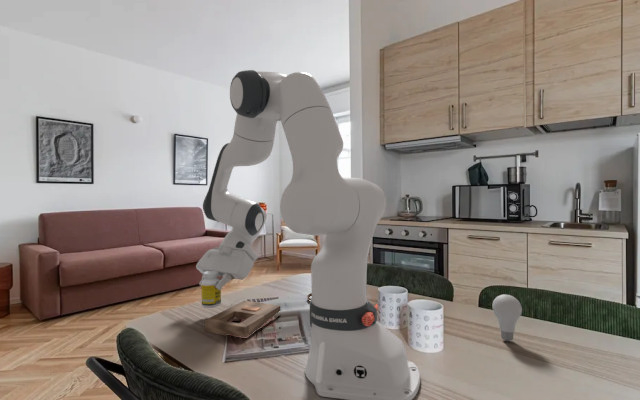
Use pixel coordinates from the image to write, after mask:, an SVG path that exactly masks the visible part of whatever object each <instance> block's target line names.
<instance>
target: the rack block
mask: <svg viewBox="0 0 640 400" xmlns="http://www.w3.org/2000/svg"><path fill="white" fill-rule="evenodd" d="M279 311H282V310H281V305H278V304H270V303H264V302H257V301H248V300H243V301H241V302H239V303H237V304H234V305H233V306H230V307H229V308H227V309H226V308H225V310H222V311H220V312H218V313H216V314H215V315H212V316H211V317H208V318H206V319H204V332H206V333H209V334H210V333H211V334H217V335H222V336H225V337H228V336H227V334H232V335H236V336H241V337H247V336H248V335H250V334H252V333H253V332H254V331H255V330H257V329H258V328H260V327H261V326H262V325H263V324H264V323H266V322H267V321H268V320H269V319H270V318H272V317H273V316H274V315H275V314H276V313H278V312H279ZM234 317H236V318H243V319H246V320H244V321H243V322H229V321H230V320H231V319H233V318H234Z"/></svg>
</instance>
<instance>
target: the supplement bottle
mask: <svg viewBox="0 0 640 400" xmlns="http://www.w3.org/2000/svg"><path fill="white" fill-rule="evenodd" d="M218 277H219V276H218V271H207V272H204V278H205V279H204V280H203V281H202V283H201V285H200V286H201V306H202V308H208V309H209V308H216V307H219V306H220V305H221V304H222V289H221V290H217V289H216V288H214V285H215V284H216V282H219V281H220V280H221V279H220V278H218Z"/></svg>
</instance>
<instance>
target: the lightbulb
mask: <svg viewBox="0 0 640 400" xmlns="http://www.w3.org/2000/svg"><path fill="white" fill-rule="evenodd" d="M491 306H492V311H493V314H494V315H495V317H496V318H497V322H498V324H499V330H500V337H501V338H502V340H504V341H505V342H510V341H511V342H512V341H513V340H514V332H515V331H516V324H517V322H518V320H519V319H520V317H521V316H522V313H523V308H522V304H521V302H520V300H518V299H517V298H516V297H514V296H513V295H510V294H500V295H497V296H496V297H495V298H494V299H493V301H492V305H491Z"/></svg>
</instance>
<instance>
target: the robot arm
mask: <svg viewBox="0 0 640 400" xmlns="http://www.w3.org/2000/svg"><path fill="white" fill-rule="evenodd" d="M229 100H230V104H231V106H232V108H233V110H234V112H235V113H236V117H235V122H234V129H233V135H232V138H231V141H230V142H227V143H225V144H224V145H223V146H222V147H221V149H220V151H219V153H218V155H217V160H216V162H215V165H214V169H213V174H212V177H211V180H210V184H209V187H208V191H207V192H206V196H205V197H204V200H203V201H202V210H203V213H204V215H205V216H206V218H207V219H208V220H211V221H214V222H217V223H221V224H224V225H227V226H230V227H232V228H231V230H229V231H228V233H226V235H225V236H224V237H223V239H222V240H221V243H220V244H219V245H218V246H215V247H213V248H211V249H208V250H207V251H206V252H204V254H203V255H202V257H201V258H200V259H199V260H198V262H197V263H196V265H195V267H196V270H197V271H199V273H201V275H202V276H201V280H200V281H199V283H198V284H199V286H201V283H202V281H203V280H204V279H205V278H204V272H207V271H218V277H222V278H221V279H220V281H219V282H216V284H215V285H214V288H216V289H217V290H221V291H222V290H223V287H224V286H225V285H227V284H228V283H229V282H230V281H231V279H236V280H243V281H244V280H245V279H246V278H247V277H248V276H249V274H250V272H251V270H252V269H253V267H254V264H255V261H257V260H258V258H259V255H258V254H257V253H256V251H255V250H254V249H253V248H252V246H253V243H254V242H255V240H257V238H258V237H259V235H260V234H261V232H262V229H263V228H264V226H265V223H266V221H267V213H266V211H265V209H264V208H263V207H261V205H260V204H259V203H258V202H256V201H253V200H252V199H249V198H245V197H242V196H239V195H237V194H234V193H233V192H230V191H229V190H228V185H229V181H230V179H231V175H232V173H233V169H234V168H236V167H250V166H256V165H259V164H261V163H263V162H264V161H267V159H268V158H269V157H270V156H271V153H272V151H273V149H274V148H273V147H274V143H275V142H274V141H275V135H276V131H277V130H276V128H277V123H278V122H280V123H281V125H282V129H283V132H284V135H285V138H286V139H285V140H286V141H287V145H288V148H289V151H290V155H291V159H292V160H291V161H292V175H291V176H292V177H291V180H290V182H289V184H287V186H286V187H285V188H284V190H283V193H282V194H281V198H280V213H281V218H282V220H283V222H284V224H285V225H286V227H287V228H288V229H289V230H291V232H293V233H295V234H296V233H297V234H300V235H306V236H307V235H309V236H323V235H326V236H325V238H324V239H325V240H324V242H323V244H322V247H321V249H320V250H319V251H318V252H317V254H316V255H315V257H314V258H313V260H312V262H311V265H310V275H311V277H310V278H311V280H310V281H311V282H310V283H311V287H310V288H311V293H312V298H311V299H312V300H311V301H310V302H309V326H310V328H311V332H310V344H309V352H308V355H307V361H306V365H305V367H304V373H305V376H306V379H307V380H308V381H309V382H311V384H312V385H313V386H314V387H315V391H316V393H317V395H318V396H320V397H324V398H330V399H340V400H413V399H414V398H415V397H416V395H417V394H418V392H419V389H420V385H421V373H420V370H419V368H418V366H417V365H416V364H415V362H412V361H410V360H408V357H407V356H408V355H407V350H406V348H405V345H404V343H403V341H402V339H400V338H399V337H398V336H397V335H396V334H394V333H392V331H390V330H389V329H388V328H387V327H385V326H384V325H383V324H382V323H380V322H379V321H378V310H379V309H378V307H379V305H378V304H377V303H376V304H375V305H373V304H372V303H371V302H370V301H369V299H368V298H367V296H368V295H367V290H368V289H367V284H368V283H367V277H368V276H367V273H368V272H367V270H368V259H369V253H370V252H369V251H370V248H371V244H372V241H373V236H374V234H375V230H376V228H377V226H378V223H379V222H380V221H381V219H382V218H383V216H384V214H385V211H386V207H387V199H386V196H385V192H384V191H383V189H382V188H381V187H380V186H379V185H378V184H376V183H375V182H371V181H369V180H367V179H365V178H361V177H342V175H341V174H340V172H339V168H338V157H339V156H340V155H341V153H342V151H343V149H344V141H343V138H342V135H341V132H340V130H339V127H338V124H337V122H336V118H335V116H334V114H333V111H332V108H331V106H330V104H329V102H328V99H327V97H326V95H325V93H324V92H323V89H322V88H321V86H320V85H319V83H318V82H317V80H316V79H315V78H314V77H313V76H312V75H311V74H310V73H307V72H304V71H296V72H291V73H290V74H284V73H279V72H275V71H255V70H254V69H251V70H250V69H249V70H248V69H247V70H246V69H245V70H241V71H238V72H237V73H236V74H235V75H234V76H233V78H232V80H231V82H230V87H229Z"/></svg>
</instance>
